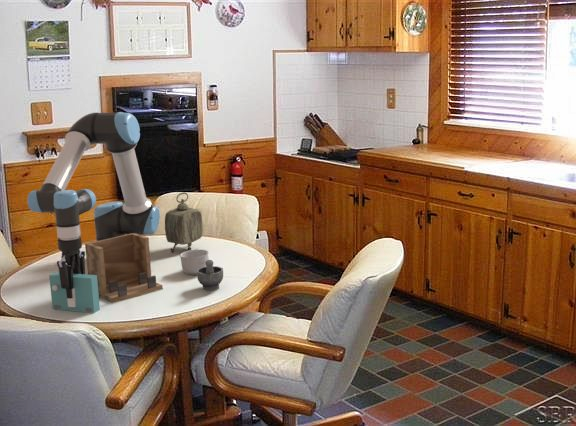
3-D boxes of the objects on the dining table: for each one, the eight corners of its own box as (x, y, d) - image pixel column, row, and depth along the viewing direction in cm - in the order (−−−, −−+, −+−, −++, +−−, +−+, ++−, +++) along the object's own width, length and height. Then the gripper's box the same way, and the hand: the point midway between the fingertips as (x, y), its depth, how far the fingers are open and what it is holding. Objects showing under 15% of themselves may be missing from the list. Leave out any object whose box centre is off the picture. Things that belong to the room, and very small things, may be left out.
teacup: (204, 277, 285) (203, 257, 283) (177, 276, 287) (175, 256, 285) (215, 266, 298) (214, 247, 296) (189, 265, 300) (187, 246, 298)
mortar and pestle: (197, 284, 276) (196, 253, 273) (223, 283, 277) (221, 251, 274) (197, 295, 265) (195, 262, 263) (224, 293, 266) (222, 260, 264)
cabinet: (89, 291, 272) (84, 243, 268) (137, 278, 285) (133, 232, 281) (113, 302, 259) (109, 252, 255) (162, 288, 273) (159, 240, 269)
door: (58, 305, 258) (55, 272, 256) (99, 309, 254) (96, 275, 251) (50, 310, 254) (46, 276, 251) (92, 314, 249) (88, 279, 246)
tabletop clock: (189, 244, 330) (186, 188, 325) (205, 247, 325) (202, 190, 320) (166, 252, 319) (162, 194, 313) (182, 255, 314) (178, 197, 308)
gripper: (73, 230, 258) (79, 295, 263) (44, 243, 242) (51, 312, 247) (92, 231, 255) (98, 297, 261) (64, 244, 240) (71, 314, 245)
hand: (75, 304), depth 254 cm, fingers closed on door, 3 cm apart
